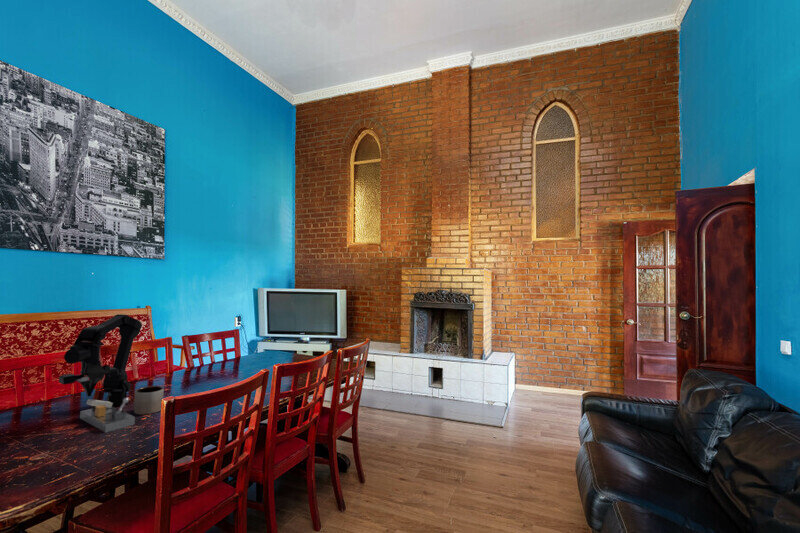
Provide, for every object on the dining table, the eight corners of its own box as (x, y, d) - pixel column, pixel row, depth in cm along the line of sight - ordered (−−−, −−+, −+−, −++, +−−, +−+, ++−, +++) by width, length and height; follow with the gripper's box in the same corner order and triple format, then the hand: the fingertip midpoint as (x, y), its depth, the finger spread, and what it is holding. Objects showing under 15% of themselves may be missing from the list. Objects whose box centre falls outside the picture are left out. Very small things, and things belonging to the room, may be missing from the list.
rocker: (106, 405, 166) (108, 401, 167) (110, 407, 164) (113, 403, 165) (86, 403, 160) (88, 398, 161) (90, 405, 158) (92, 400, 159)
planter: (168, 407, 176) (169, 386, 176) (150, 416, 165) (152, 393, 165) (146, 406, 177) (147, 385, 177) (127, 414, 166) (128, 392, 166)
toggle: (117, 416, 154) (128, 398, 157) (119, 417, 153) (130, 398, 156) (112, 415, 153) (123, 396, 156) (114, 416, 151) (126, 397, 155)
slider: (101, 413, 157) (102, 404, 157) (105, 415, 156) (105, 406, 156) (94, 415, 155) (95, 406, 155) (98, 417, 154) (98, 408, 154)
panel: (108, 411, 168) (108, 399, 168) (134, 424, 155) (135, 410, 155) (80, 418, 160) (80, 405, 160) (105, 432, 147) (106, 418, 147)
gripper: (69, 365, 147) (67, 406, 147) (125, 357, 163) (123, 394, 163) (59, 361, 153) (57, 400, 153) (113, 353, 169) (111, 389, 169)
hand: (88, 396), depth 159 cm, fingers closed
